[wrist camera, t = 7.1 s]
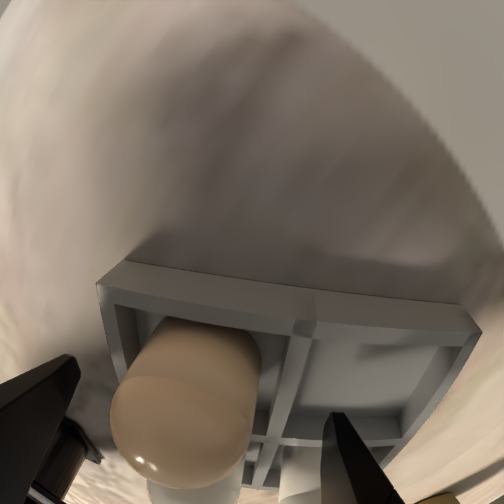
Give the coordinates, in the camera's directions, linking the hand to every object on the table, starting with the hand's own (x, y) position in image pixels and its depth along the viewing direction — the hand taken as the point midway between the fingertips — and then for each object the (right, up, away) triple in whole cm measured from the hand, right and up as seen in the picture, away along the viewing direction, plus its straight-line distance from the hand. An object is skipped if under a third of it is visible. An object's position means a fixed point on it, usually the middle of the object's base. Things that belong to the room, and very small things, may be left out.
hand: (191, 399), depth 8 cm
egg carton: (+3, -2, +3) cm, 5 cm away
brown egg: (0, +1, +2) cm, 2 cm away
